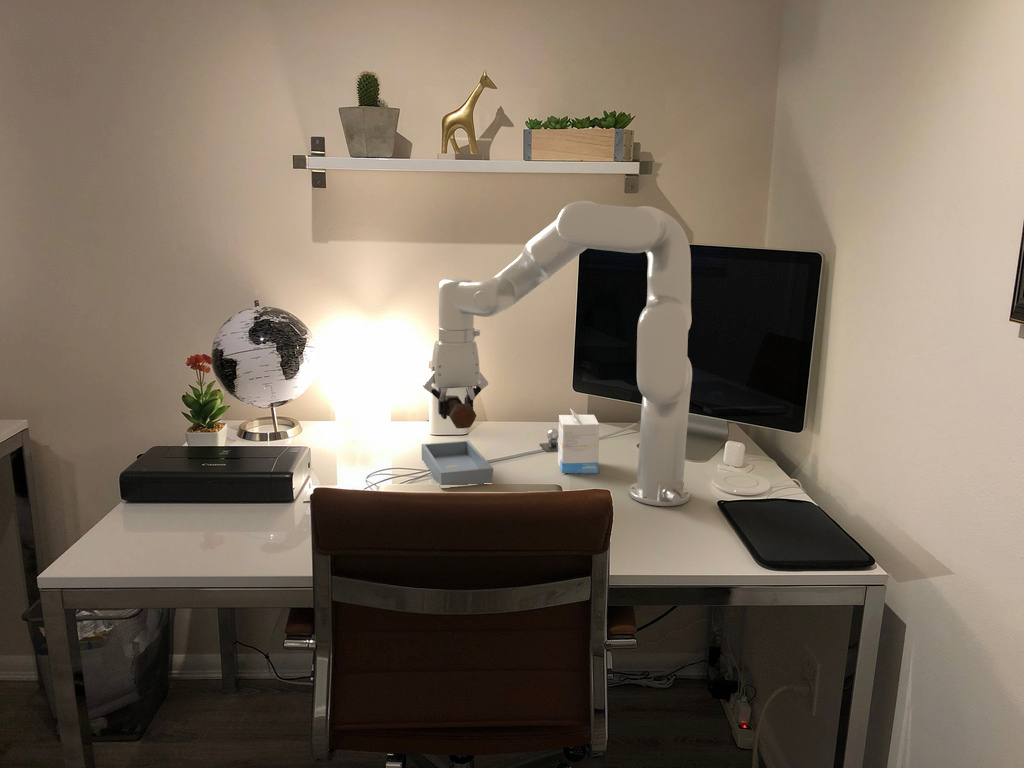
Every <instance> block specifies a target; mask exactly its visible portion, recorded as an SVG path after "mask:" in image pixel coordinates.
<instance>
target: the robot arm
mask: <svg viewBox="0 0 1024 768" xmlns="http://www.w3.org/2000/svg"><path fill="white" fill-rule="evenodd" d="M690 247H691V246H690V242H689V240H688V237H687V235H686V232H685V230H684V229H683V227H682V225H681V224H680V223H679V222H678V221H677V220H676V219H675V218H674V217H672V216H671V215H670V214H668V213H667V212H665V211H663V210H662V209H659V208H657V207H654V206H649V205H642V206H634V207H633V206H625V205H624V206H622V205H621V206H620V205H610V204H609V205H608V204H601V203H600V204H598V203H597V202H594V201H591V200H577V201H573V202H570V203H568V204H567V205H565V206H564V207H563V208H562V209H561V210H560V212H559V214H558V216H557V218H556V219H554V221H552V222H551V223H550V224H548V225H547V226H546V227H544V229H542V230H540V231H539V232H538V233H537V234H536V235H535V236H533V237H532V238H530V240H528V241H527V242H526V244H525V245H524V248H523V251H522V252H521V254H520V255H519V256H518V257H517V258H516V259H515V260H513V261H512V262H511V263H510V264H509V265H507V266H506V267H505V268H504V269H503V270H501V271H500V272H498V273H497V274H496V275H495V276H493V277H491V278H488V279H485V280H481V281H472V280H470V279H467V278H460V277H451V278H450V277H449V278H444V279H442V280H441V281H440V282H439V285H438V340H436V341H435V342H434V346H433V351H432V361H431V373H430V375H429V376H428V377H427V378H426V380H425V381H424V383H423V384H422V387H423V389H425V390H426V391H427V392H429V393H430V394H432V395H433V396H434V397H435V398H436V399H437V400H438V403H437V405H438V407H437V409H438V415H439V416H440V417H441V418H442V420H447V418H448V416H447V402H446V401H445V396H447V392H448V389H459V388H461V389H462V388H463V389H464V390H465V393H466V396H465V397H464V404H467V403H469V404H470V405H471V407H472V408H473V409H474V400H475V399H476V397H477V395H479V394H480V393H481V392H482V390H484V389H485V388H486V387H487V386H489V381H488V380H487V379H486V378H485V376H484V375H483V374H482V372H481V371H480V359H479V350H478V346H477V341H476V340H475V338H476V337H480V336H481V331H480V329H475V327H474V325H475V324H474V323H475V322H474V319H475V317H474V316H477V317H481V318H483V317H484V318H490V317H494V316H495V315H498V314H500V313H502V312H504V311H506V310H509V308H512V306H514V305H515V304H517V303H518V302H519V301H521V300H522V299H523V298H524V297H526V295H528V294H530V293H531V292H532V291H533V290H535V289H536V288H537V287H539V285H541V284H542V283H543V282H545V281H547V280H549V279H551V277H552V276H554V275H555V274H556V273H558V272H559V270H561V269H562V268H563V267H565V266H566V265H568V263H570V262H571V261H572V260H574V259H575V258H576V257H578V256H579V255H580V254H582V253H583V252H584V251H586V250H587V249H593V250H601V251H610V252H611V251H612V252H618V253H619V252H620V253H630V254H641V253H644V252H645V254H646V256H647V257H646V258H647V272H646V274H647V275H646V276H647V277H646V278H647V282H646V283H647V289H646V290H647V291H646V292H647V293H646V295H647V296H646V306H645V307H644V308H643V309H642V311H641V312H640V315H639V318H638V322H637V332H636V333H637V334H636V336H637V339H636V382H637V387H638V390H639V392H640V394H641V395H642V400H641V411H640V412H641V413H640V423H639V424H640V427H639V428H640V429H639V440H638V441H639V443H638V460H637V461H638V462H637V478H636V480H637V481H636V482H634V483H633V484H631V485H630V486H629V488H628V490H629V491H628V494H629V496H630V497H631V498H632V499H633V500H635V501H637V502H639V503H642V504H646V505H650V506H654V507H655V506H656V507H674V506H680V505H684V504H686V503H687V502H688V501H690V499H691V492H690V490H689V489H688V488H687V487H685V486H684V485H685V482H684V480H685V479H684V478H685V477H684V475H685V461H686V450H687V448H686V447H687V438H688V437H687V436H688V435H687V433H688V423H689V413H690V400H691V391H692V390H691V389H692V382H693V367H692V366H693V365H692V363H691V361H690V358H689V357H688V345H689V344H688V343H689V342H688V339H689V330H690V329H691V325H692V317H693V316H692V302H691V300H692V273H691V272H692V258H691V255H692V254H691V248H690ZM433 384H434V385H435V386H436V388H438V389H436V388H435V387H434V386H432V385H433Z"/></svg>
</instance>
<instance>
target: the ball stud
mask: <svg viewBox="0 0 1024 768" xmlns="http://www.w3.org/2000/svg"><path fill="white" fill-rule="evenodd" d="M546 437H547V439H548V442H544V443H542V442H541V443H539V447H540V446H541V447H542V448H541V447H540V448H541V449H542V450H544V451H545V452H546V453H549V452H548V451H553V452H558V437H559V429H557V428H550V429H548V431H547V433H546Z"/></svg>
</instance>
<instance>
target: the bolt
mask: <svg viewBox="0 0 1024 768" xmlns="http://www.w3.org/2000/svg"><path fill="white" fill-rule="evenodd" d="M445 401H446V402H447V417H449V419H450V421H451V422H452V423H453V425H454V427H455V428H456V429H469V428H471V427H472V425H473V424H474V422H475V420H476V418H477V413H476V412H475V410H474V407H473V408H472V407H471V405H470V404H469V403H467V404H465V403H463V402H462V400H461V399H460V397H459V396H458V395H446V396H445Z"/></svg>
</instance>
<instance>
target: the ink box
mask: <svg viewBox="0 0 1024 768" xmlns="http://www.w3.org/2000/svg"><path fill="white" fill-rule="evenodd" d="M569 410H570V412H571V414H559V415H558V432H559V437H558V439H557V442H558V451H557V464H558V467H559V468H560V471H561V473H562V474H563V473H575V474H574V475H577V473H578V475H579V473H581V474H598V473H599V449H600V448H599V447H600V445H599V444H600V423H599V421H598V419H597V417H596V416H595V414H577V413H576V412H575V411H574V410H573V409H572V408H569ZM581 474H580V475H581Z"/></svg>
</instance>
